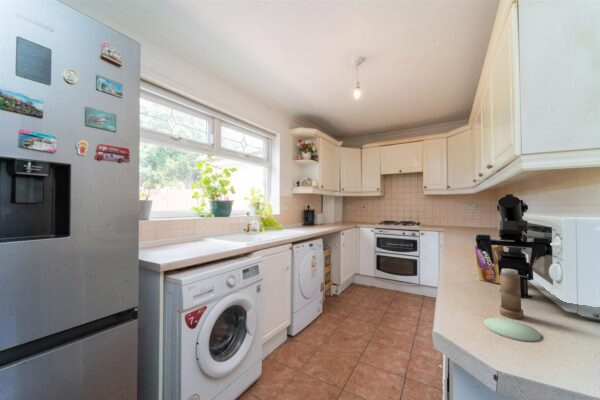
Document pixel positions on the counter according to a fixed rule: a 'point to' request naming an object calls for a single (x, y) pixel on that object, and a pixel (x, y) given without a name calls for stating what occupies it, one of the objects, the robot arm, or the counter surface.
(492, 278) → the candy box
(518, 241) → the robot arm
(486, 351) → the counter surface
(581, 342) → the counter surface
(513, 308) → the pepper mill
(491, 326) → the rubber mat
